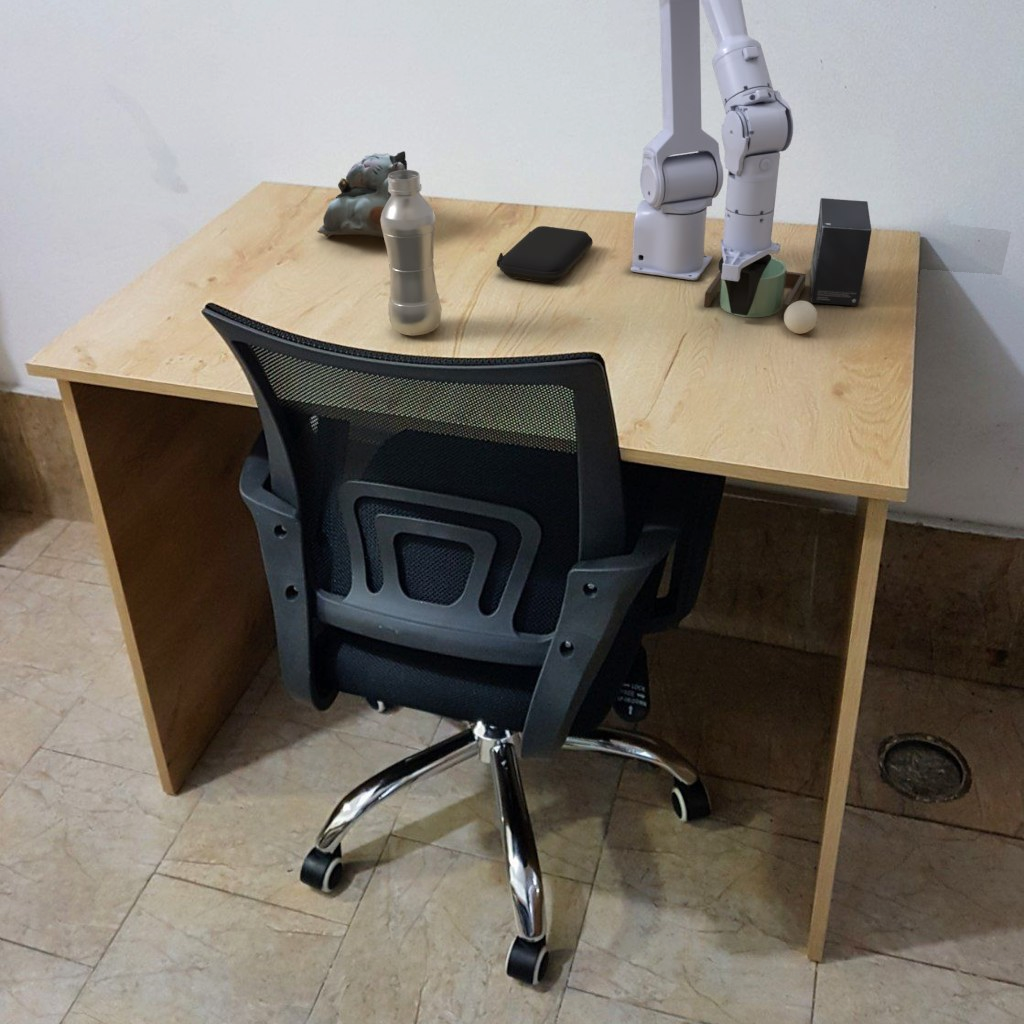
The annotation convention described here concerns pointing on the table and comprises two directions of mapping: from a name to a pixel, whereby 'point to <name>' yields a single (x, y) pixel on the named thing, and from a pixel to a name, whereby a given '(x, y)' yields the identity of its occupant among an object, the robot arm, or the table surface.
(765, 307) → the waste bin
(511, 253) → the carrying case
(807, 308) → the off-white sphere
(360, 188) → the lucky cat figurine
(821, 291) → the small box
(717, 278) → the bar
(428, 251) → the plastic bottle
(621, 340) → the table surface
